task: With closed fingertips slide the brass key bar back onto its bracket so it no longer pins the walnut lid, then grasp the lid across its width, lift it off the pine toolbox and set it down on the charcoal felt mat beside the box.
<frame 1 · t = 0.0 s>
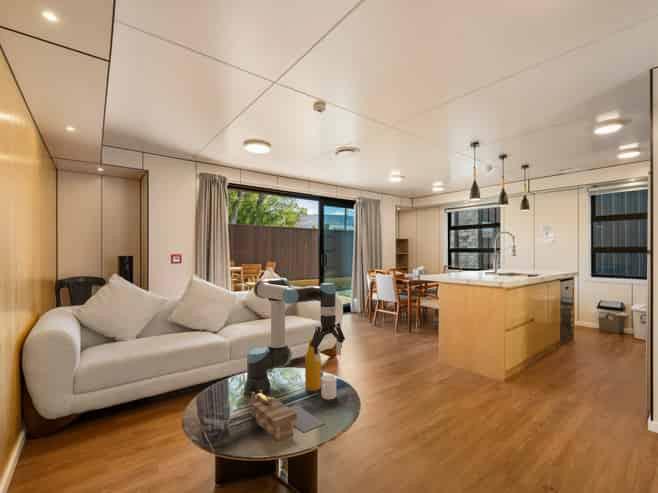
hand: (328, 357, 157), 28 cm above the table, fingers open, 13 cm apart
toolbox: (274, 428, 145), on the table
mug: (327, 398, 175), on the table
beer bottle: (313, 388, 189), on the table
key: (264, 397, 152), point 11 cm above the table, slide at 0.0 cm
felt mat: (299, 418, 154), on the table
lid: (273, 414, 145), point 6 cm above the table, touching toolbox
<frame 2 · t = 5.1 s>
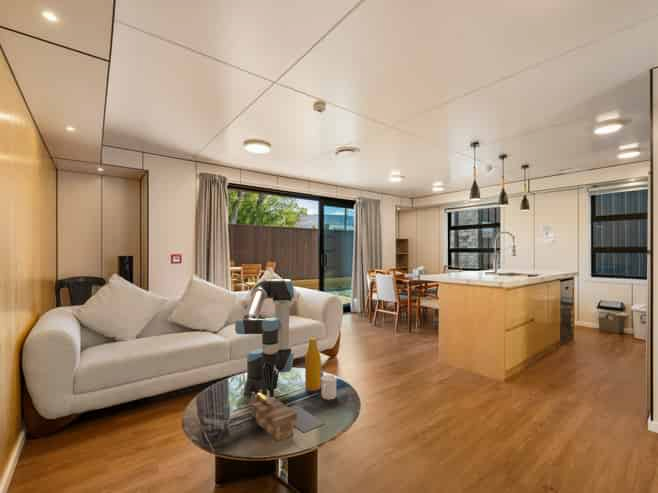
hand: (270, 402, 148), 10 cm above the table, fingers closed
key: (263, 396, 153), point 11 cm above the table, slide at 0.9 cm, touching gripper
everything else where it was.
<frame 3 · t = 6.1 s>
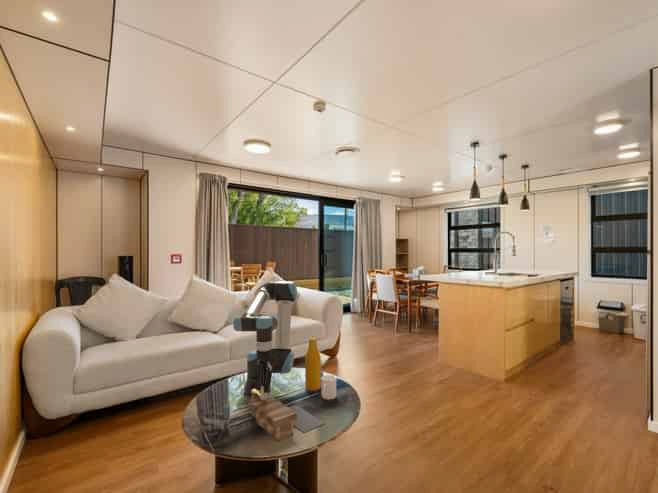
hand: (264, 398, 153), 10 cm above the table, fingers closed
key: (258, 392, 157), point 11 cm above the table, slide at 6.6 cm, touching gripper
everything else where it was.
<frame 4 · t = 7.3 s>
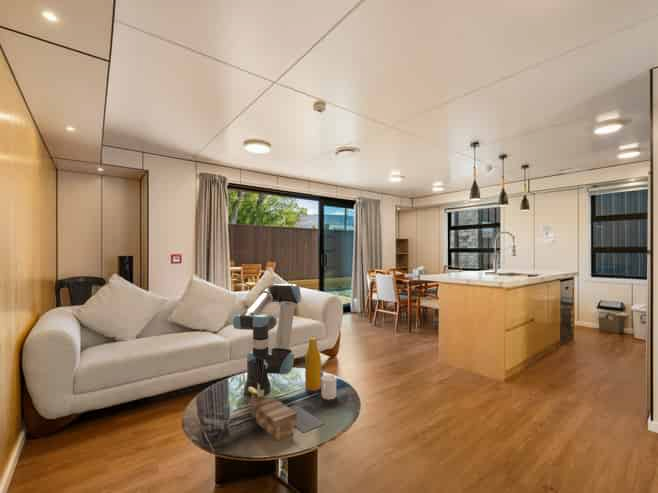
hand: (260, 395, 155), 10 cm above the table, fingers closed
key: (254, 390, 160), point 11 cm above the table, slide at 10.2 cm, touching gripper
everything else where it was.
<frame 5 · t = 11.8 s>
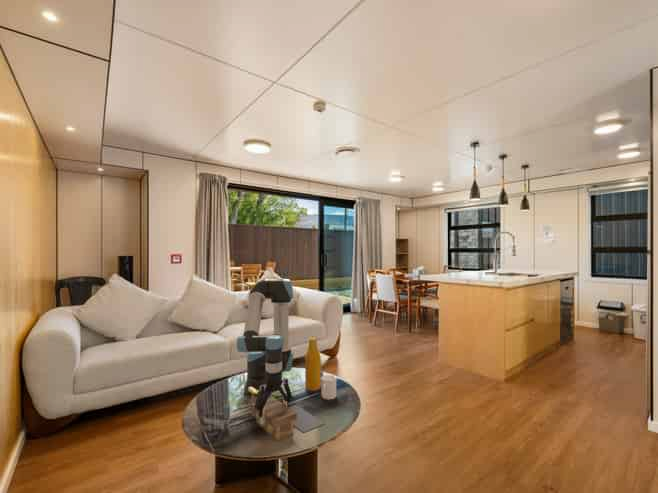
hand: (273, 419, 145), 4 cm above the table, fingers closed on lid, 11 cm apart
key: (254, 390, 160), point 11 cm above the table, slide at 10.2 cm
lid: (273, 414, 145), point 6 cm above the table, touching gripper, toolbox
everything else where it was.
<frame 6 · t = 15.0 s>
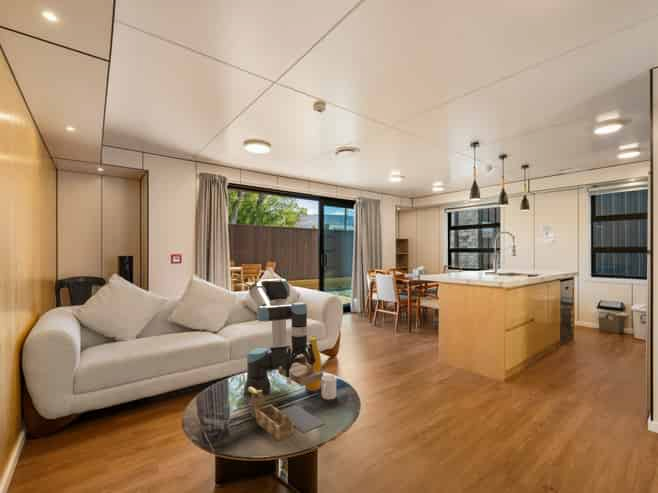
hand: (299, 380, 154), 18 cm above the table, fingers closed on lid, 11 cm apart
lid: (299, 376, 154), point 20 cm above the table, touching gripper
everything else where it was.
when the fingers open (1 cm above the table, at t = 18.6 s): lid drops 2 cm, resting on felt mat.
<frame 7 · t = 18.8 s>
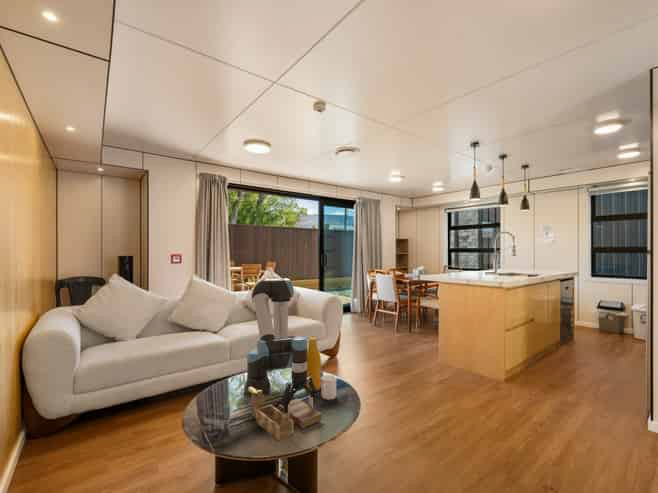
hand: (299, 414, 154), 2 cm above the table, fingers open, 13 cm apart
lid: (299, 415, 154), point 1 cm above the table, touching felt mat
everything else where it was.
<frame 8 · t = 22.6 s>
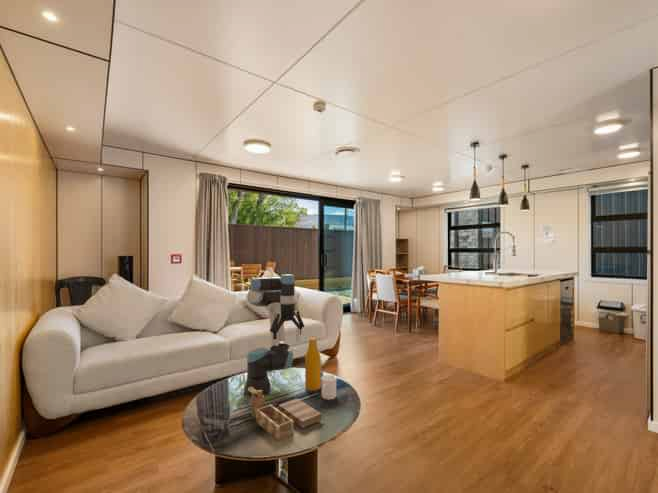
hand: (287, 343, 170), 32 cm above the table, fingers open, 13 cm apart
nothing on the table moved.
at the end: lid inside the target area (0.0 cm from its centre), point 1.3 cm above the table; lid tilted 0°; key slide at 10.2 cm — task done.
